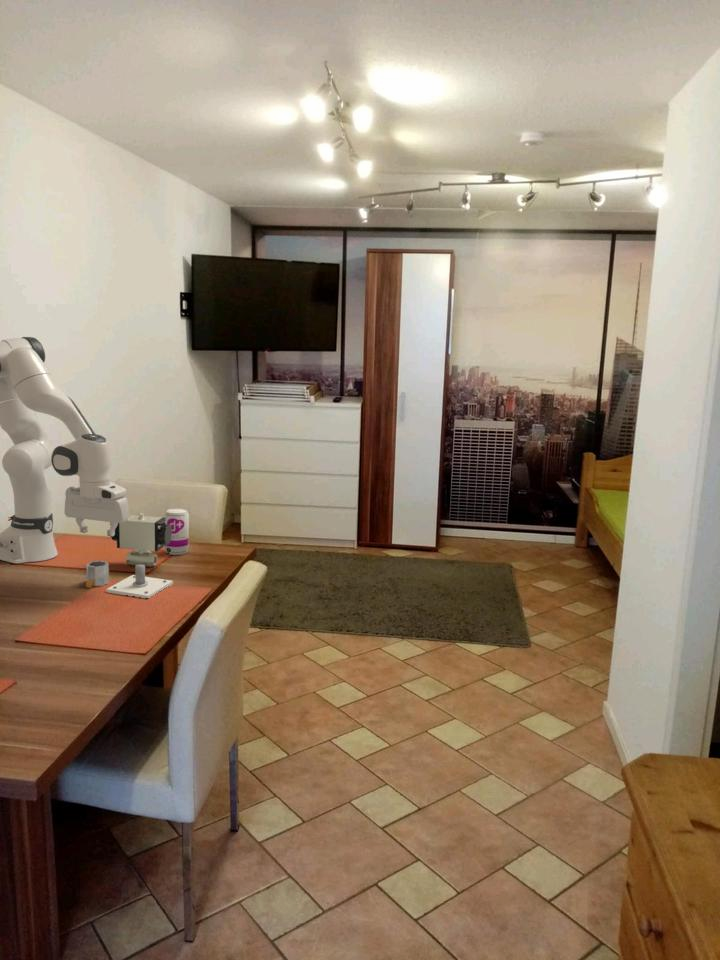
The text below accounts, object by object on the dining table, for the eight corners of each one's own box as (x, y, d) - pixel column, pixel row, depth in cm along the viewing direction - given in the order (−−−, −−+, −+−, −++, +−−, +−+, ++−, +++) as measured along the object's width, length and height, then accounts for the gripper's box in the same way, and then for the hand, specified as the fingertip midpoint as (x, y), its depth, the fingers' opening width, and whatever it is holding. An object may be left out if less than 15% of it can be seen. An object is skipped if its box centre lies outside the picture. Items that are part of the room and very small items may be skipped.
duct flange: (106, 592, 215) (105, 569, 213) (132, 577, 228) (132, 556, 227) (148, 599, 211) (148, 576, 210) (173, 583, 225) (173, 562, 223)
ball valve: (173, 563, 244) (173, 511, 240) (164, 571, 235) (164, 518, 232) (121, 559, 245) (120, 507, 242) (110, 566, 237) (109, 514, 234)
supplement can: (185, 556, 252) (185, 514, 249) (161, 555, 252) (161, 513, 249) (191, 549, 260) (191, 508, 257) (168, 548, 260) (168, 507, 257)
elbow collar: (95, 578, 226) (94, 559, 225) (112, 581, 224) (112, 562, 223) (79, 586, 218) (78, 567, 217) (96, 589, 217) (96, 569, 216)
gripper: (58, 488, 216) (60, 533, 219) (119, 494, 211) (120, 540, 213) (72, 484, 222) (74, 527, 225) (131, 490, 217) (132, 534, 219)
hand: (97, 534), depth 219 cm, fingers open, 8 cm apart
